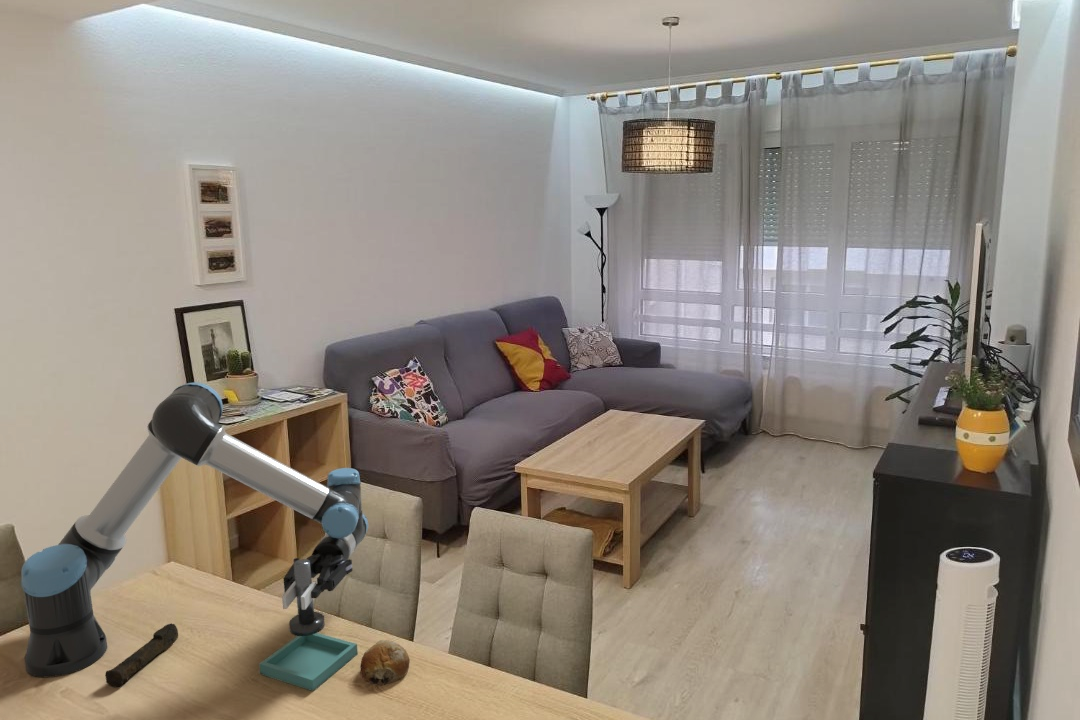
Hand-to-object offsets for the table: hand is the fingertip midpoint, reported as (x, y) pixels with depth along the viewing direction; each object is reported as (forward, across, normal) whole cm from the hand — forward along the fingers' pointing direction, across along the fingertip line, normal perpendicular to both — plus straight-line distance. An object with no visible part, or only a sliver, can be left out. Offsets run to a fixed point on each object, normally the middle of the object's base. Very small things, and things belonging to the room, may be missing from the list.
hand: (293, 602), depth 155 cm
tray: (-5, 0, -17) cm, 18 cm away
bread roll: (-4, -16, -18) cm, 24 cm away
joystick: (-5, 0, -8) cm, 10 cm away
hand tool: (-4, +36, -18) cm, 40 cm away
